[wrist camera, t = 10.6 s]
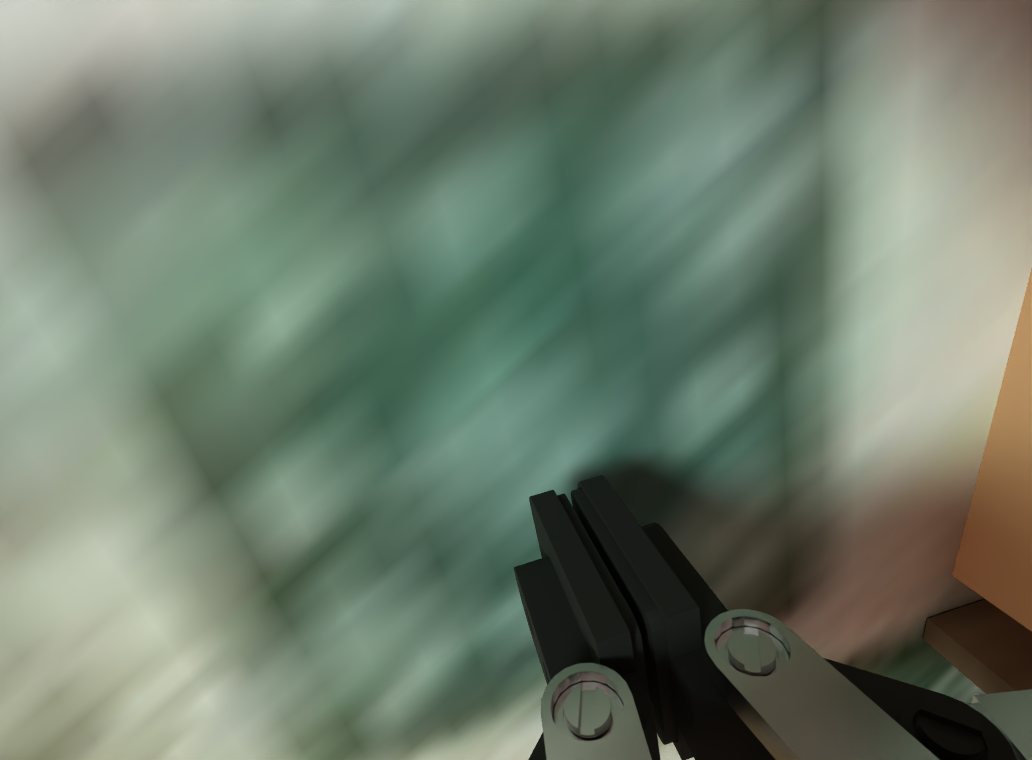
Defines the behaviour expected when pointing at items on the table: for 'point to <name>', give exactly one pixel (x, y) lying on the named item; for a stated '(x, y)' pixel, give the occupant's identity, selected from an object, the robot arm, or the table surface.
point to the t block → (1005, 491)
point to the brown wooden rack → (984, 646)
